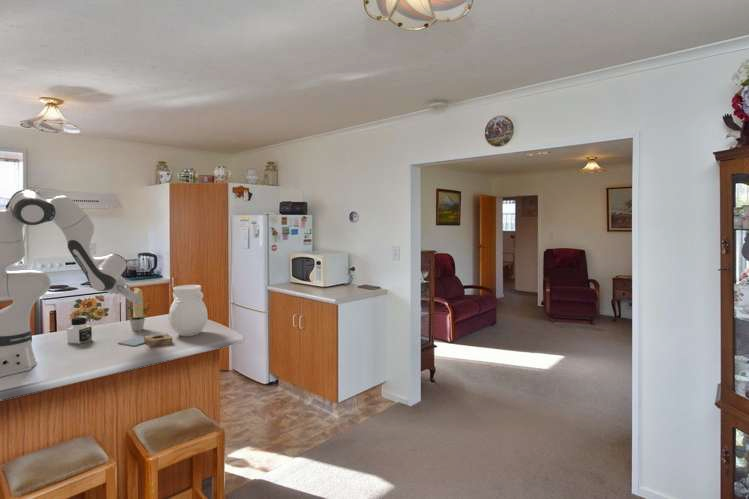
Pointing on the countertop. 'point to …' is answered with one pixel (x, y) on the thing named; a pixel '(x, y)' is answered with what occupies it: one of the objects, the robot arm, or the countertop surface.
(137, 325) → the house plant
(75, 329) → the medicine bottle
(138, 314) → the t key
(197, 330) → the white vase
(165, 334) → the socket block
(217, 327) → the countertop surface
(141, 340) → the slate mat
